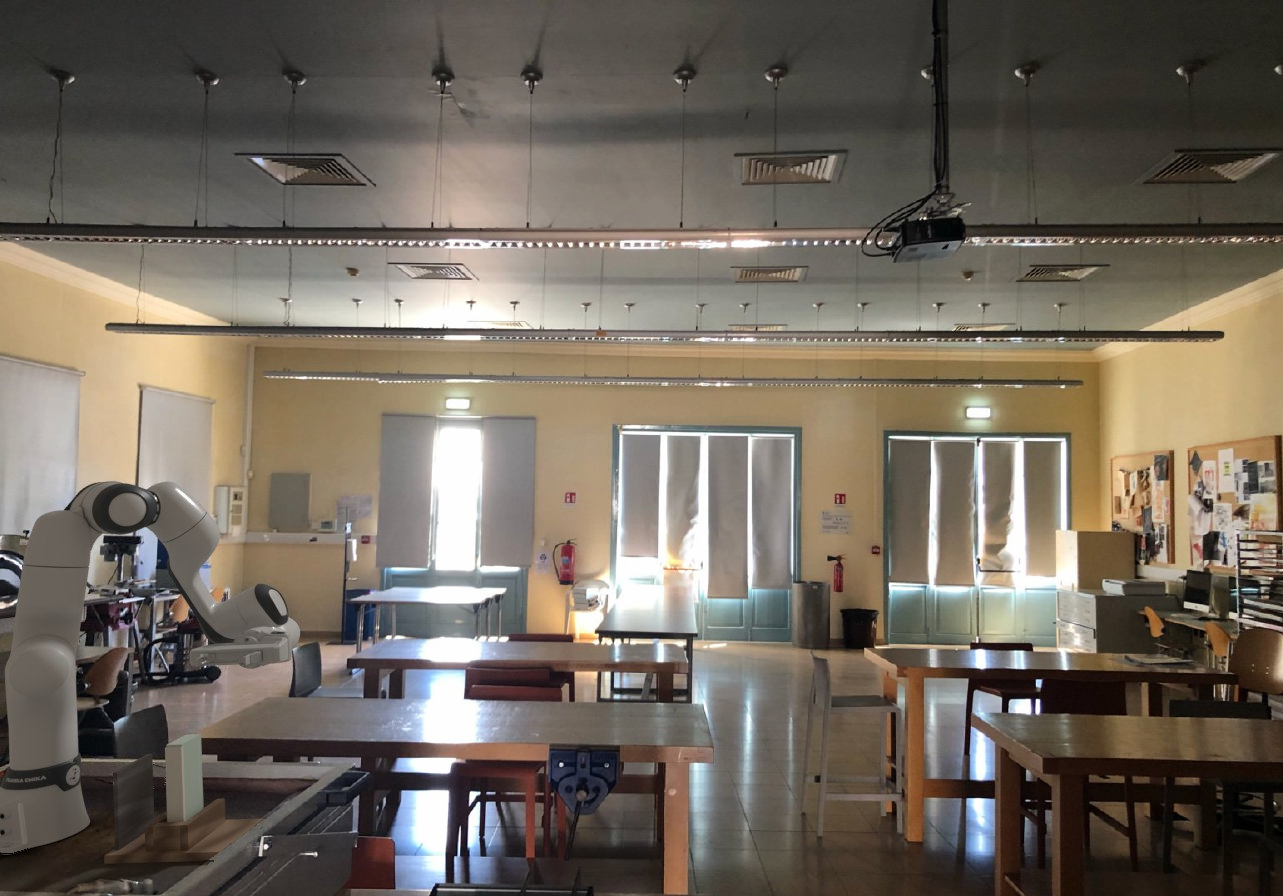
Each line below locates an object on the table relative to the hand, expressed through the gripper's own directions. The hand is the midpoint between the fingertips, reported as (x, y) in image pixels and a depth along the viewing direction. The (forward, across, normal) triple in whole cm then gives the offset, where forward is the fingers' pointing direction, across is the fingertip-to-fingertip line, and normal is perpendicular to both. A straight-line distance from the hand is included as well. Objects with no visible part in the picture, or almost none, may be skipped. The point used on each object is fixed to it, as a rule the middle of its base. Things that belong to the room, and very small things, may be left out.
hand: (220, 662), depth 172 cm
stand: (+18, +3, +30) cm, 35 cm away
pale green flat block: (+18, +3, +28) cm, 34 cm away
